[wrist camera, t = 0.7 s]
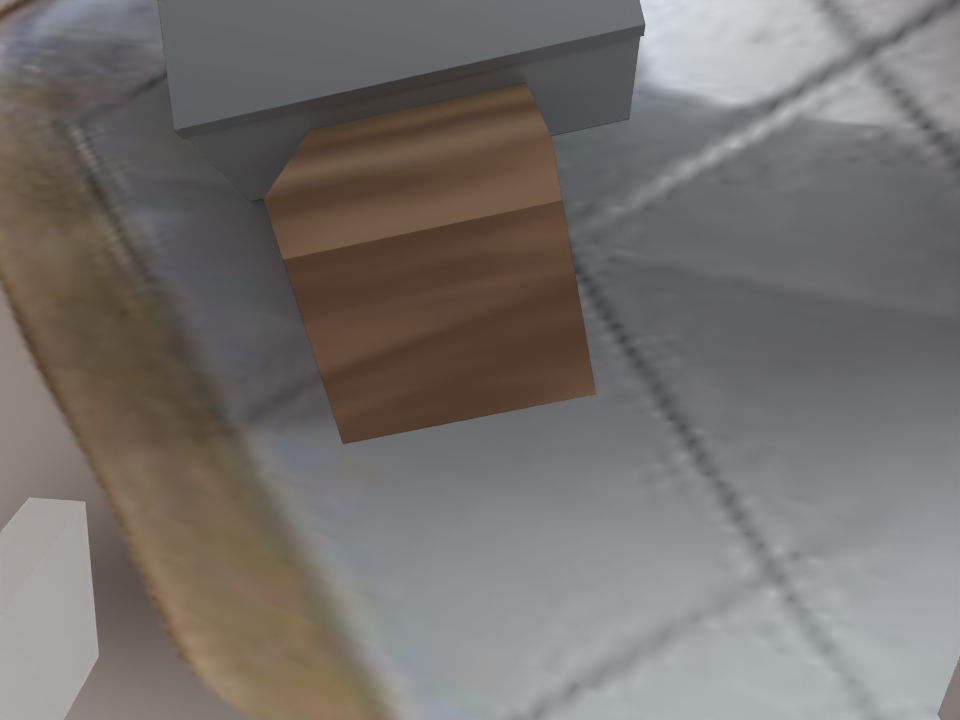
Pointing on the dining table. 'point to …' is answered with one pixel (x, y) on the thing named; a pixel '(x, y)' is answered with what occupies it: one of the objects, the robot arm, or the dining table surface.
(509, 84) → the grey lidded box
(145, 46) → the dining table surface
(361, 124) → the wooden step bench
